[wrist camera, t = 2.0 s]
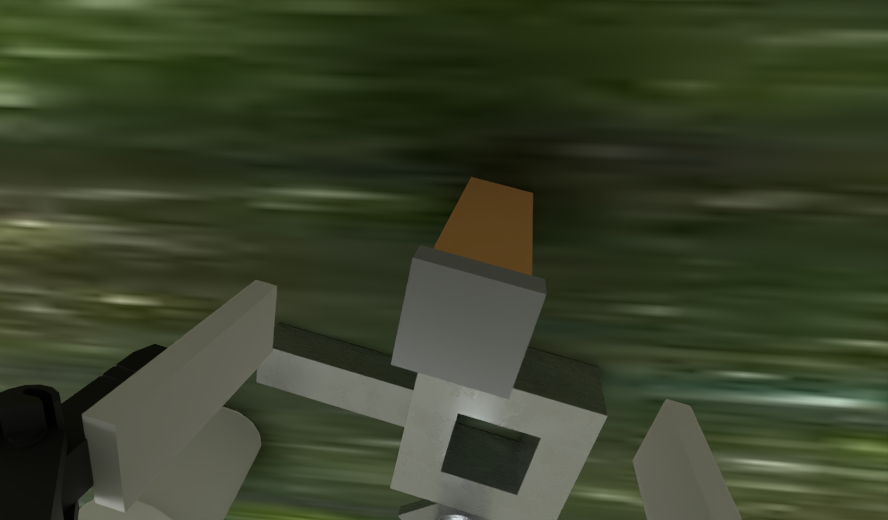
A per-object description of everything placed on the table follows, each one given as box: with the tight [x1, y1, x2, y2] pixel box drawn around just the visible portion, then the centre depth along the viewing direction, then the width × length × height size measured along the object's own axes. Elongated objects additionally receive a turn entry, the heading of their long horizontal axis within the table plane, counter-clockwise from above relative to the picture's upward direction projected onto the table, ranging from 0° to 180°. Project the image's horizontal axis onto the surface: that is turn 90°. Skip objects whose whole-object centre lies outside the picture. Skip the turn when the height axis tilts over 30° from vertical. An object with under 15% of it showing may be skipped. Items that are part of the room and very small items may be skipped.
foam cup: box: [78, 407, 262, 520], centre depth 37 cm, size 10×9×13 cm
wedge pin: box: [391, 177, 546, 399], centre depth 24 cm, size 5×5×14 cm
